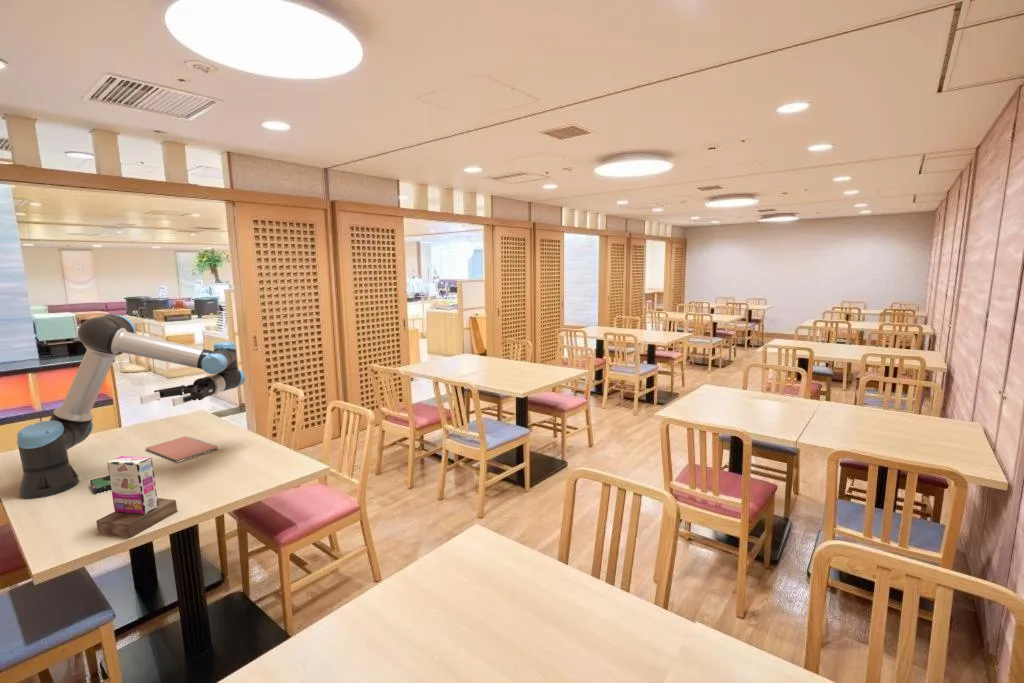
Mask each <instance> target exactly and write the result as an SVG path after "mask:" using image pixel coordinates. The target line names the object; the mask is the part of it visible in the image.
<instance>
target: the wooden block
mask: <svg viewBox="0 0 1024 683" xmlns="http://www.w3.org/2000/svg"><path fill="white" fill-rule="evenodd" d="M157 500H158V508H156V509H155V510H153V511H151V512H149V513H147V514H145V515H143V514H129V513H117V512H115V511H113V512H111V513H110V514H109V513H108V514H107V515H105V516H103V517H101V518H99V519H97V520H95V522H96V526H97V528H96V529H97V533H98V534H100V535H101V534H102V535H107V534H108V535H109V536H115V537H122V538H123V537H124V538H133V537H134V536H135V537H136V535H139V534H140V533H142V532H144V531H146V530H147V529H149V528H152V526H154V525H156V524H158V523H160V522H162V521H163V520H165V519H167V518H169V517H170V516H173V514H176V513H177V512H178V507H177V500H176V499H171V498H163V497H162V498H161V497H157Z"/></svg>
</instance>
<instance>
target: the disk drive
mask: <svg viewBox="0 0 1024 683" xmlns="http://www.w3.org/2000/svg"><path fill="white" fill-rule="evenodd" d="M89 482H90V487H91V486H92V487H91V489H92V491H94V492H93V494H94V495H98V494H97V493H99V494H102V493H101V492H103V493H105V492H104V491H106V492H109V491H108V490H110V491H112V490H111V484H110V477H109V475H105V476H102V477H98V478H94V479H90V481H89Z"/></svg>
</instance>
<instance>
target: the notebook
mask: <svg viewBox="0 0 1024 683" xmlns="http://www.w3.org/2000/svg"><path fill="white" fill-rule="evenodd" d="M218 447H219V446H217V445H216V444H213V443H209V442H206V441H205V440H200V439H197V438H195V437H192V436H181V437H178V438H175V439H172V440H168V441H163V442H161V443H158V444H153V445H151V446H148V447H145V449H146V451H147V450H148V451H147V452H150V453H152V452H153V454H154V455H155V454H156V455H157V454H159V455H158V456H160V457H162V456H163V457H162V458H165V457H166V458H165V459H168V458H169V459H168V460H170V459H172V460H171V461H173V460H175V461H177V462H176V463H179V462H178V461H180V460H183V459H187V458H190V457H193V458H195V457H194V456H196V457H198V456H197V455H199V456H201V455H200V454H202V455H204V454H203V453H205V452H208V451H211V450H214V449H216V448H217V449H218ZM214 451H215V450H214ZM211 452H212V451H211ZM208 453H209V452H208ZM205 454H206V453H205ZM190 459H191V458H190ZM187 460H188V459H187ZM175 461H174V462H175Z"/></svg>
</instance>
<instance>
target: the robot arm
mask: <svg viewBox="0 0 1024 683" xmlns="http://www.w3.org/2000/svg"><path fill="white" fill-rule="evenodd" d="M136 329H137V328H136V326H135V323H134V322H133V321H132V320H131V319H130V318H129V317H126V316H125V315H120V314H113V313H112V314H111V313H110V314H106V315H103V316H97V317H91V318H89V319H87V320H84V321H83V322H82V323H81V324H80V325H79V327H78V330H77V337H78V339H79V341H80V342H81V345H83V347H85V349H86V351H85V354H84V356H83V358H82V360H81V362H80V364H79V367H78V369H77V372H76V373H75V376H74V378H73V380H72V383H71V385H70V387H69V389H68V391H67V393H66V395H65V397H64V400H63V402H62V404H61V406H60V407H57V408H55V409H54V410H53V412H52V414H51V416H50V418H49V420H45V421H44V420H43V421H41V422H40V421H39V422H36V423H34V424H29V425H27V426H25V427H23V428H21V429H20V430H19V431H18V432H17V434H16V438H17V439H16V444H17V445H16V446H18V452H19V456H20V461H21V467H22V472H23V474H22V478H21V481H20V485H19V490H18V491H19V496H20V498H22V497H23V499H38V498H44V497H48V496H52V495H56V494H59V493H63V492H66V491H68V490H70V489H72V488H74V487H75V486H77V485H78V484H79V483H80V479H79V475H78V474H77V472H76V471H75V470H74V468H73V466H72V465H71V463H70V460H69V455H68V450H69V449H71V448H73V447H75V446H76V445H78V444H80V443H82V442H84V441H85V440H86V439H87V438H88V437H89V436H90V434H91V433H92V431H93V429H94V428H93V427H94V424H93V423H94V422H93V419H94V415H93V413H92V412H91V411H92V409H93V408H94V405H95V403H96V401H97V398H98V396H99V394H100V392H101V389H102V387H103V385H104V383H105V381H106V378H107V376H108V374H109V371H110V370H111V368H112V364H113V362H114V360H115V358H116V357H119V356H121V355H122V354H128V355H132V356H138V357H143V358H147V359H152V360H157V361H162V362H165V363H166V362H167V363H171V364H176V365H180V366H186V367H190V368H195V369H200V370H203V371H204V372H205V373H207V374H209V375H208V376H206V375H205V376H204V377H200V378H197V379H195V380H194V381H193V384H188V385H185V384H182V385H178V386H174V387H167V388H162V389H161V388H160V389H155V390H154V391H153V392H151V393H148V394H144V395H141V396H140V397H139V398H140V403H141V405H144V404H148V403H152V402H155V401H160V399H164V398H170V397H172V398H171V399H172V406H173V407H177V406H179V405H182V404H183V405H184V404H185V403H190V402H192V401H197V400H198V401H202V400H204V399H205V398H206V397H210V396H213V395H214V396H217V395H218V393H219V394H220V393H223V392H225V391H228V390H232V389H236V388H238V387H240V386H242V385H244V383H245V381H246V374H245V373H244V371H243V370H242V369H240V368H239V367H238V358H237V348H236V344H235V342H233V341H220V342H216V343H214V345H213V350H211V349H205V348H201V347H197V346H191V345H187V344H183V343H179V342H174V341H169V340H166V339H161V338H156V337H152V336H147V335H144V334H138V333H136Z"/></svg>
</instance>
